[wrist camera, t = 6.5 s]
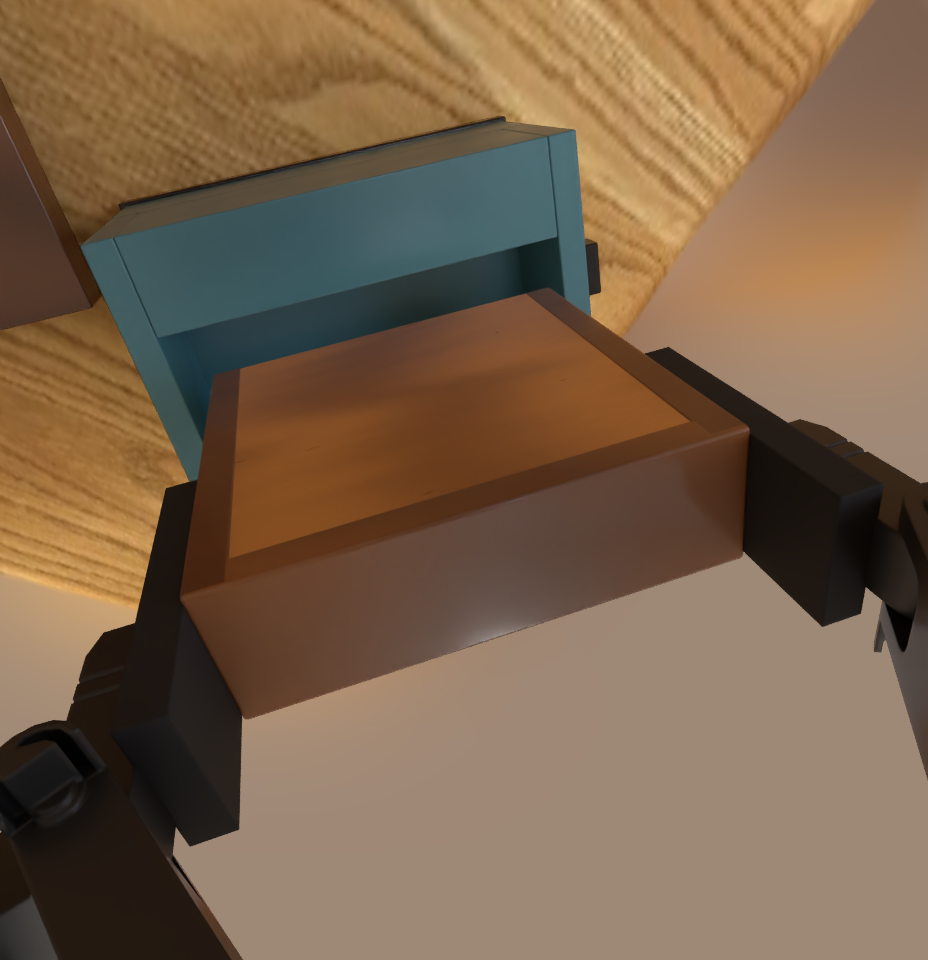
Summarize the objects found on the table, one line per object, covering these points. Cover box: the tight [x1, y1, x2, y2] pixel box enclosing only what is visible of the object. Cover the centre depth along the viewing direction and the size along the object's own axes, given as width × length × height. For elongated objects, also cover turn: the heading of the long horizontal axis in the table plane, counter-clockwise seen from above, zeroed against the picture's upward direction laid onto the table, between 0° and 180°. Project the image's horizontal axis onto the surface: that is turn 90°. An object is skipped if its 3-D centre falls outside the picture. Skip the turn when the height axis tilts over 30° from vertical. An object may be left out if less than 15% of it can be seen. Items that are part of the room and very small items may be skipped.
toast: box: [180, 288, 750, 719], centre depth 16 cm, size 10×3×10 cm, turn 101°
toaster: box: [80, 116, 601, 481], centre depth 28 cm, size 17×11×9 cm, turn 101°
